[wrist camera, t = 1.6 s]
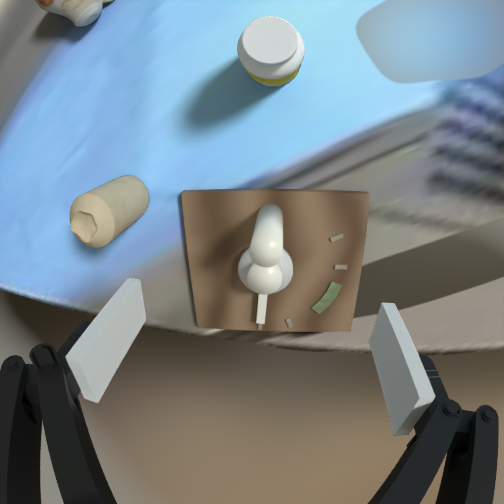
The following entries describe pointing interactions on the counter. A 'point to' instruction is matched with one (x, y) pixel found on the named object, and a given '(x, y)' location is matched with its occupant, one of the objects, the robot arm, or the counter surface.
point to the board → (294, 242)
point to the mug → (75, 9)
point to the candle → (108, 210)
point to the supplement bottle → (271, 51)
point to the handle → (266, 258)
